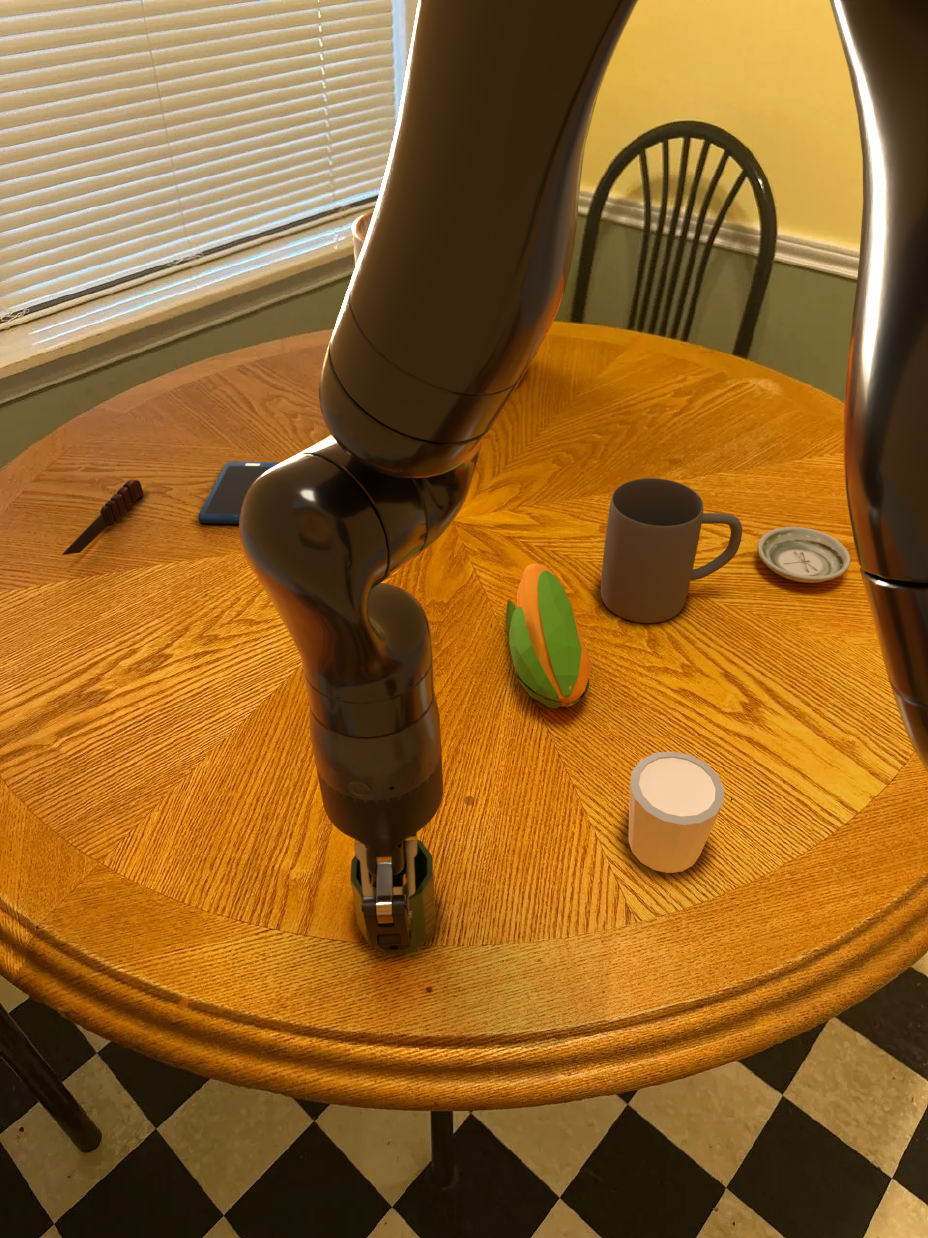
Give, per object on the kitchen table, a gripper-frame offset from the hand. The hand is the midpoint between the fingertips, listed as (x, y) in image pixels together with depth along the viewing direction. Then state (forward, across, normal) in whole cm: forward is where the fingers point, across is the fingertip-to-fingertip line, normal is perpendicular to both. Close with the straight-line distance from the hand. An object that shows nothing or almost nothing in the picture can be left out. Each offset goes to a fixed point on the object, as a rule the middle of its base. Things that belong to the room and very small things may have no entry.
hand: (395, 903), depth 62 cm
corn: (+2, +28, -14) cm, 31 cm away
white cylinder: (+2, +5, -21) cm, 22 cm away
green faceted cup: (+2, 0, 0) cm, 2 cm away
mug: (+2, +36, -28) cm, 46 cm away
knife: (+2, +53, +35) cm, 63 cm away
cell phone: (+2, +60, +20) cm, 63 cm away
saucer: (+2, +40, -44) cm, 60 cm away
